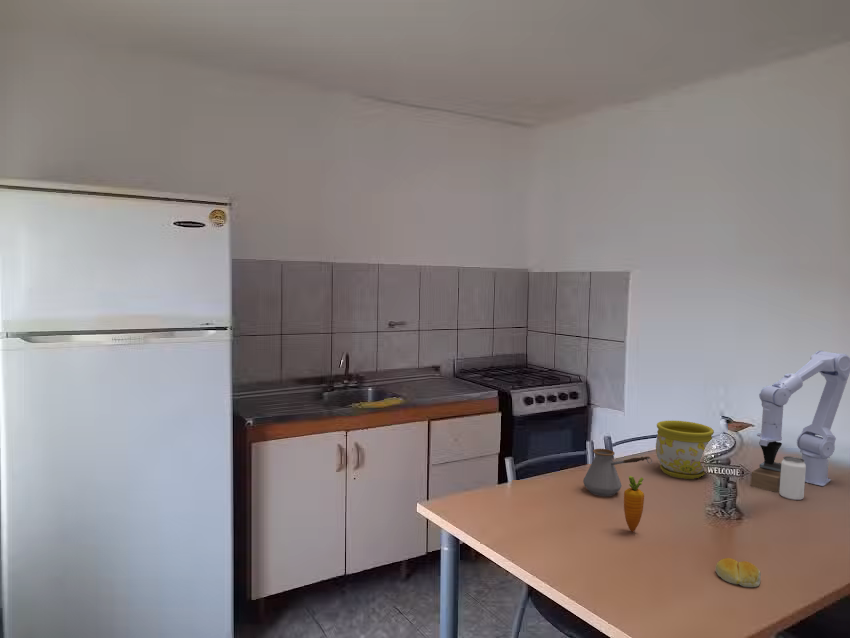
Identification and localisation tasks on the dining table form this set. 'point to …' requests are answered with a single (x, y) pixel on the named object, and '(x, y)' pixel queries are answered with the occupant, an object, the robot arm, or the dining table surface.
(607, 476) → the coffee pot
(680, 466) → the flowerpot
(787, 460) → the can
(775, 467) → the cover
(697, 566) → the dining table surface
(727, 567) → the bread roll
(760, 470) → the brown rectangular box
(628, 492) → the carrot
